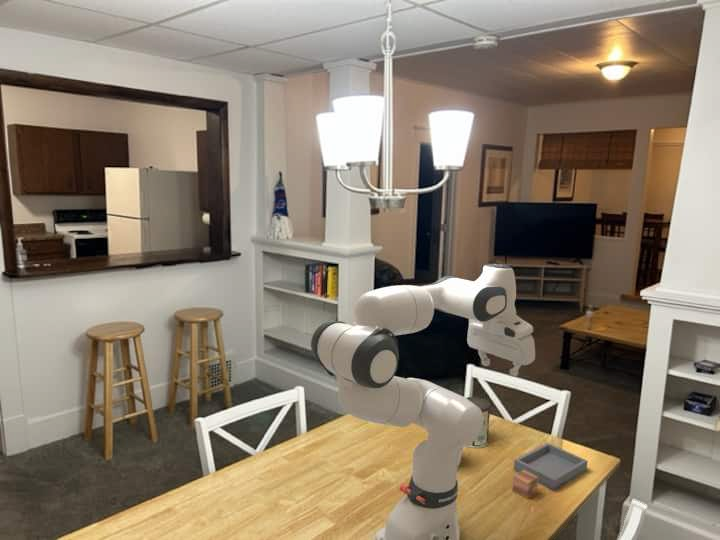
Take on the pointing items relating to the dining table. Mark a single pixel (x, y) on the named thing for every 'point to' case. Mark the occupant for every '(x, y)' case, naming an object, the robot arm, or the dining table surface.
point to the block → (525, 484)
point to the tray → (551, 465)
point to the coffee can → (483, 436)
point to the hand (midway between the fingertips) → (499, 370)
